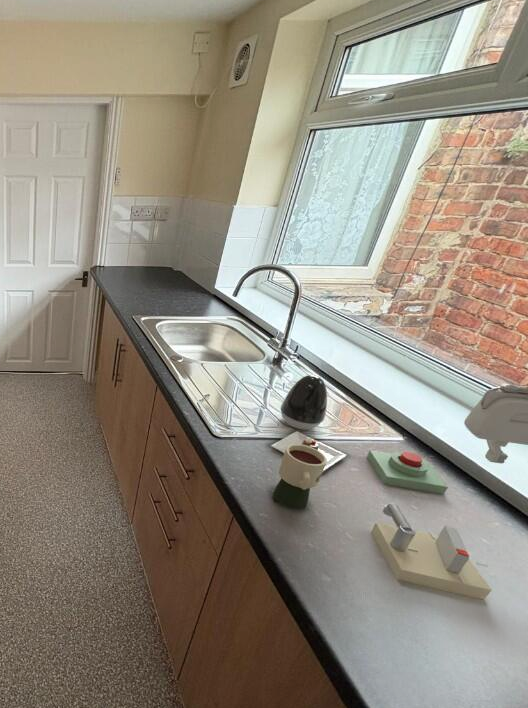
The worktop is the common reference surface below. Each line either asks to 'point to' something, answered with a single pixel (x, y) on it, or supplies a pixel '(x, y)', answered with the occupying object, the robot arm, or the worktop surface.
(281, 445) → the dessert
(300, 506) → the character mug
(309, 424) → the black egg shaped dome
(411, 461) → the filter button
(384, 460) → the green button base
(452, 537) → the tap handle
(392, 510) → the spout
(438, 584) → the tap block
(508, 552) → the worktop surface
